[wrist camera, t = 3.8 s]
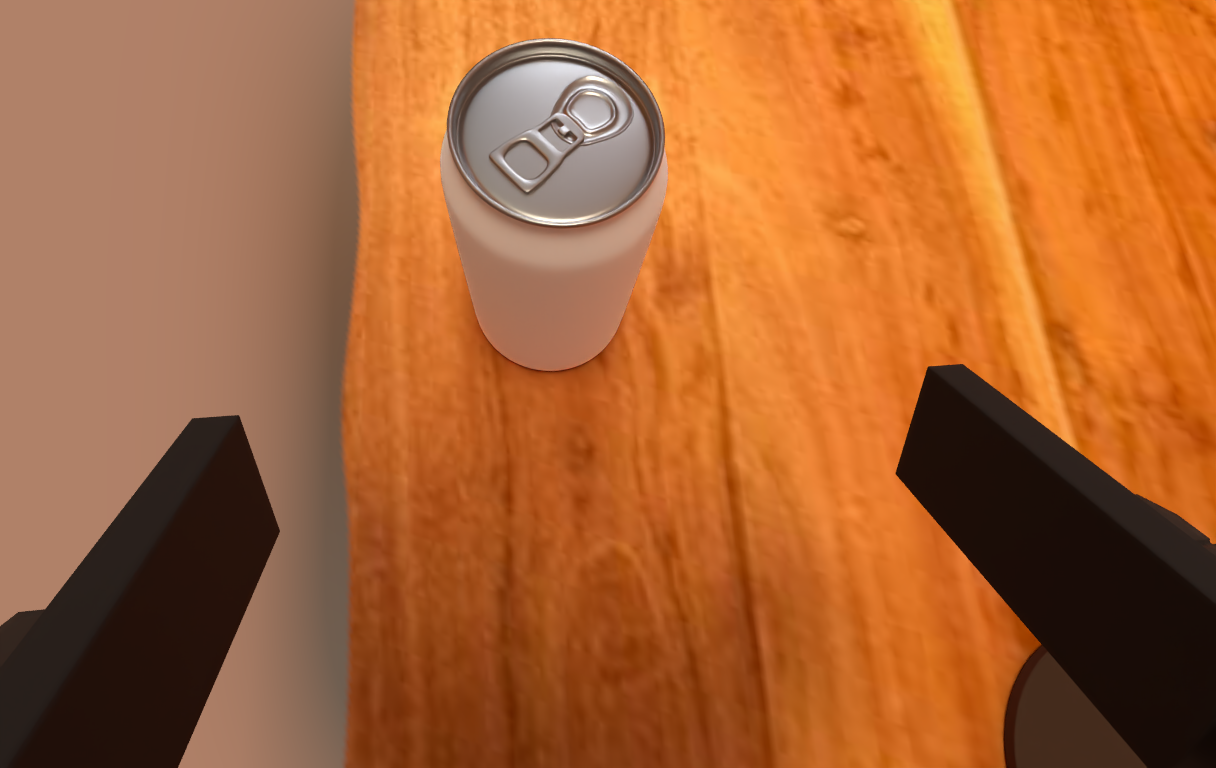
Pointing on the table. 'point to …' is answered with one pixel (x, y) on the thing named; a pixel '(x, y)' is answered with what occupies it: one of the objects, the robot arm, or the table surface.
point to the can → (552, 195)
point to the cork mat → (1059, 723)
